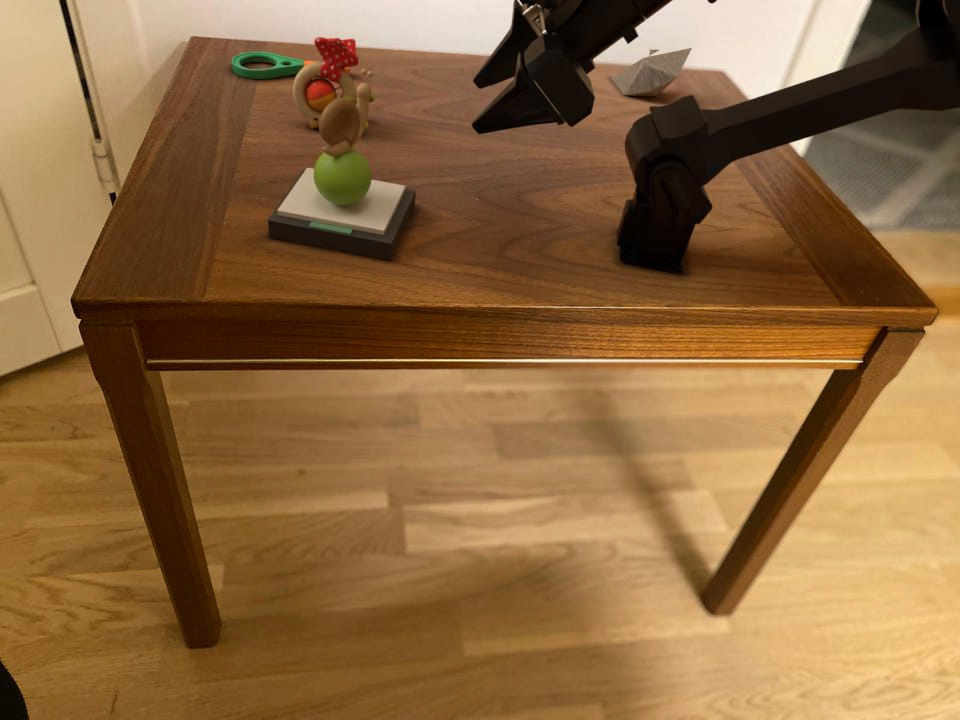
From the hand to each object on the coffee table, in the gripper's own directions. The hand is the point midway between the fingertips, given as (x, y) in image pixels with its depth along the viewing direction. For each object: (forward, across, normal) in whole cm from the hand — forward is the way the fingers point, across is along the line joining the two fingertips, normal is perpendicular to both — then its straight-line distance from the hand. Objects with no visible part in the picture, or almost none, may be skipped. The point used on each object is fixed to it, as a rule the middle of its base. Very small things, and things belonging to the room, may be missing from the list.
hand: (475, 105), depth 66 cm
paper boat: (-9, -42, +28) cm, 51 cm away
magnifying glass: (+26, -34, -7) cm, 44 cm away
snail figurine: (+16, 0, 0) cm, 16 cm away
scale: (+18, 0, +1) cm, 18 cm away
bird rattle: (+21, -20, -1) cm, 29 cm away
